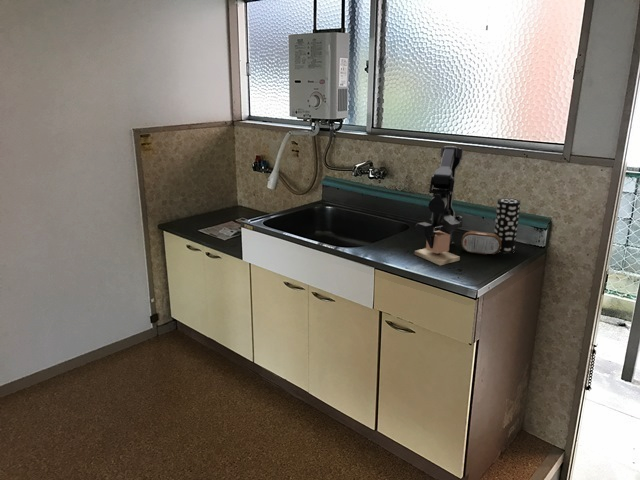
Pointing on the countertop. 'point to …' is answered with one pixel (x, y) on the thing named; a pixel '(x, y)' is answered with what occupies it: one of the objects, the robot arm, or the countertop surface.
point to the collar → (440, 242)
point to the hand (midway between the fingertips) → (437, 246)
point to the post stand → (437, 256)
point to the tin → (481, 242)
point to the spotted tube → (507, 223)
